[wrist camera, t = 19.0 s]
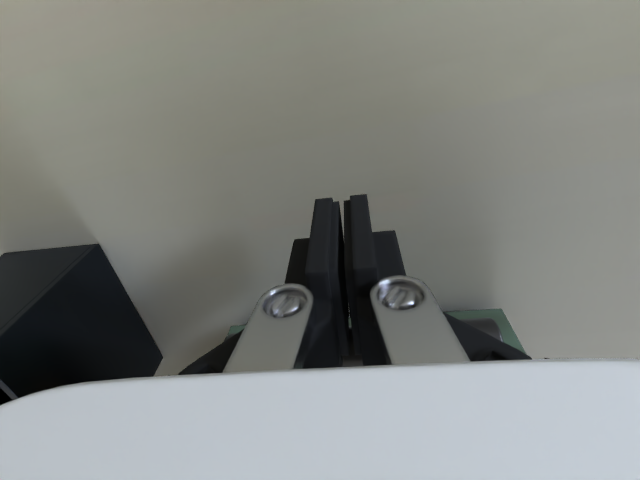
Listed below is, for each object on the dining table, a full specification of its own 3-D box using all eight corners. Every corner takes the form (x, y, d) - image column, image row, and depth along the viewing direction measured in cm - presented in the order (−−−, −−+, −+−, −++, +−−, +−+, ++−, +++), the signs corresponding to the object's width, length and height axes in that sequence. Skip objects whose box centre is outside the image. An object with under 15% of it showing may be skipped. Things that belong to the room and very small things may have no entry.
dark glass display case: (4, 252, 17) (-156, 364, 12) (99, 243, 16) (-23, 357, 11) (85, 361, 21) (-4, 481, 16) (163, 357, 21) (98, 480, 15)
